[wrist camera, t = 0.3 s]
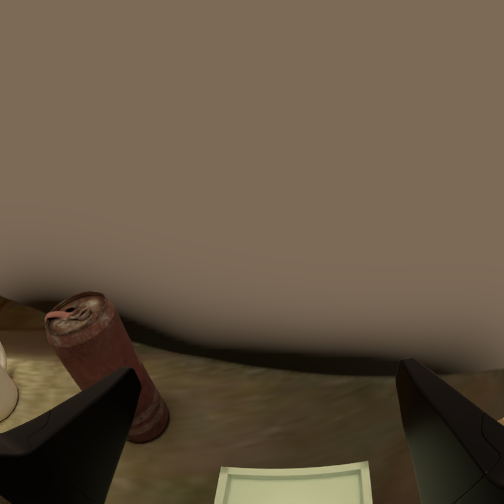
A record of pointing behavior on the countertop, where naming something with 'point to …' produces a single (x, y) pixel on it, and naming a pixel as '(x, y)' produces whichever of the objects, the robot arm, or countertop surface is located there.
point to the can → (103, 354)
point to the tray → (295, 485)
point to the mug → (6, 388)
